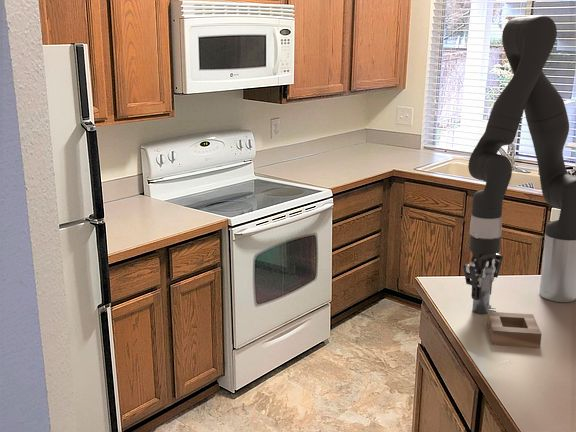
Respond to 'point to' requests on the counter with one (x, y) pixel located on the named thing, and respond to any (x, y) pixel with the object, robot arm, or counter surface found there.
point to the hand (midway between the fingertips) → (481, 296)
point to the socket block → (513, 329)
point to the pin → (483, 293)
